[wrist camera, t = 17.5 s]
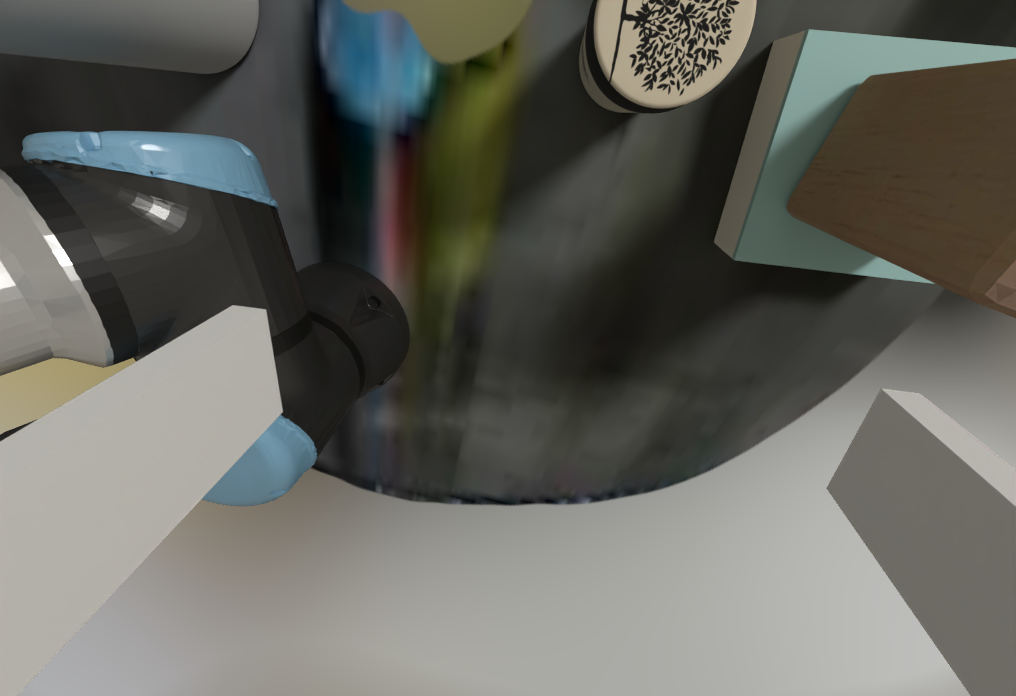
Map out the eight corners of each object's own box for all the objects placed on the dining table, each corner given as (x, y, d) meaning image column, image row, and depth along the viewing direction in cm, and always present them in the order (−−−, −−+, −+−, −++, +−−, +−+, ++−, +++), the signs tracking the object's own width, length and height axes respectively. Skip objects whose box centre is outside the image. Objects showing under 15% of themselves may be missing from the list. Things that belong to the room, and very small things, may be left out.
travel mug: (695, 14, 36) (798, -62, 20) (655, 123, 40) (715, 132, 24) (597, -15, 36) (624, -115, 20) (566, 97, 40) (567, 89, 24)
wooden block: (889, 254, 37) (1186, 386, 19) (775, 210, 36) (975, 303, 19) (989, 123, 32) (1501, 137, 15) (861, 69, 32) (1233, 18, 14)
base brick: (713, 242, 44) (734, 260, 39) (773, 41, 36) (809, 29, 31) (888, 262, 43) (934, 283, 38) (986, 60, 36) (1060, 51, 30)
